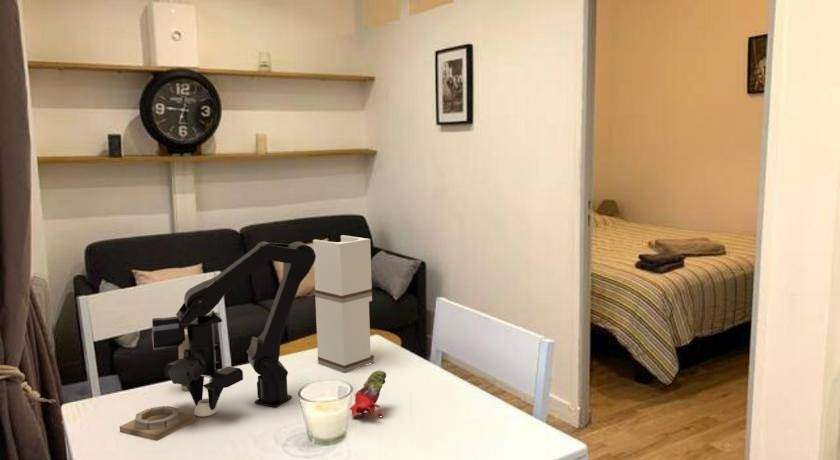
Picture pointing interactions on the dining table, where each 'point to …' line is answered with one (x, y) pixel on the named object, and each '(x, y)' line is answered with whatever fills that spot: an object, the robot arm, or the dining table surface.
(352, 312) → the stacked square vase
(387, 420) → the dining table surface
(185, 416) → the hub plate
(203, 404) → the white jar
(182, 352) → the handle
